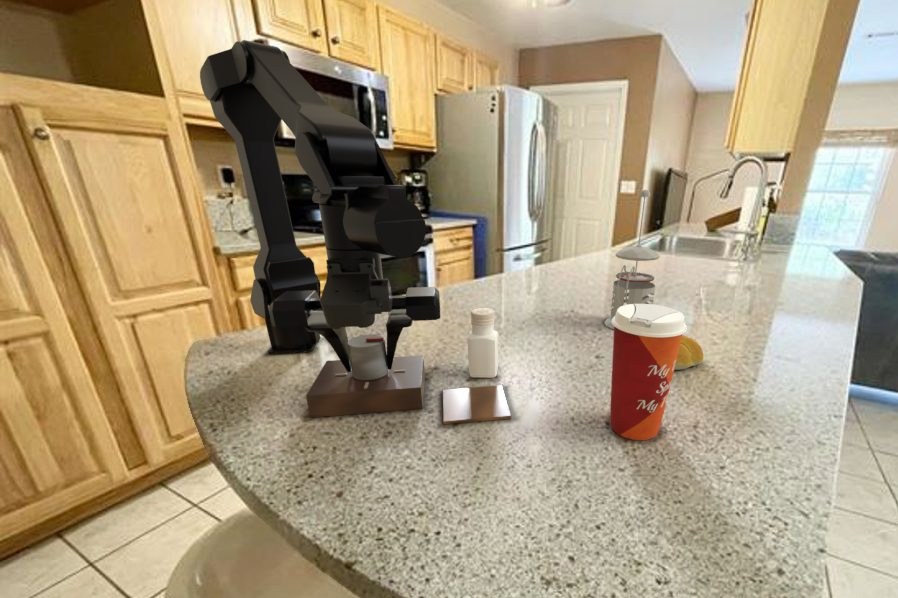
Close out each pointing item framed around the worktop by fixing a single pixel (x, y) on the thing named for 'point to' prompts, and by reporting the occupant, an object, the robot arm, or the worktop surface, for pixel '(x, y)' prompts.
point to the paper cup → (643, 367)
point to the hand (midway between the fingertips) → (370, 369)
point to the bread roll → (688, 354)
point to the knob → (368, 357)
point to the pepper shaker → (483, 344)
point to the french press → (633, 276)
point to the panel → (367, 389)
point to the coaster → (474, 404)
